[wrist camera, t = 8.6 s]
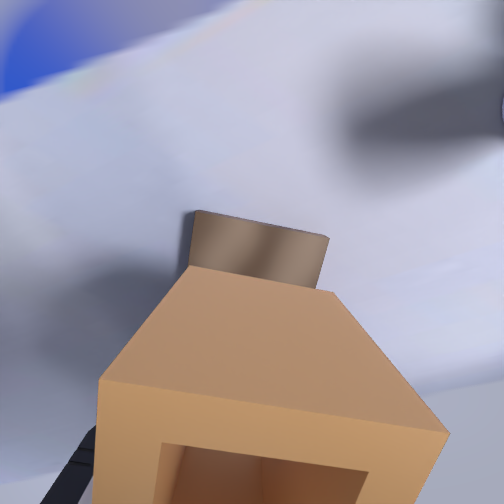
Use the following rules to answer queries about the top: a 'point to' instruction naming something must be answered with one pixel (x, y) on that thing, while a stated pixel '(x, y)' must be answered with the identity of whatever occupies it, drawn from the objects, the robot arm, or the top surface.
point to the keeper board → (256, 249)
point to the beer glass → (503, 109)
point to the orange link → (258, 404)
